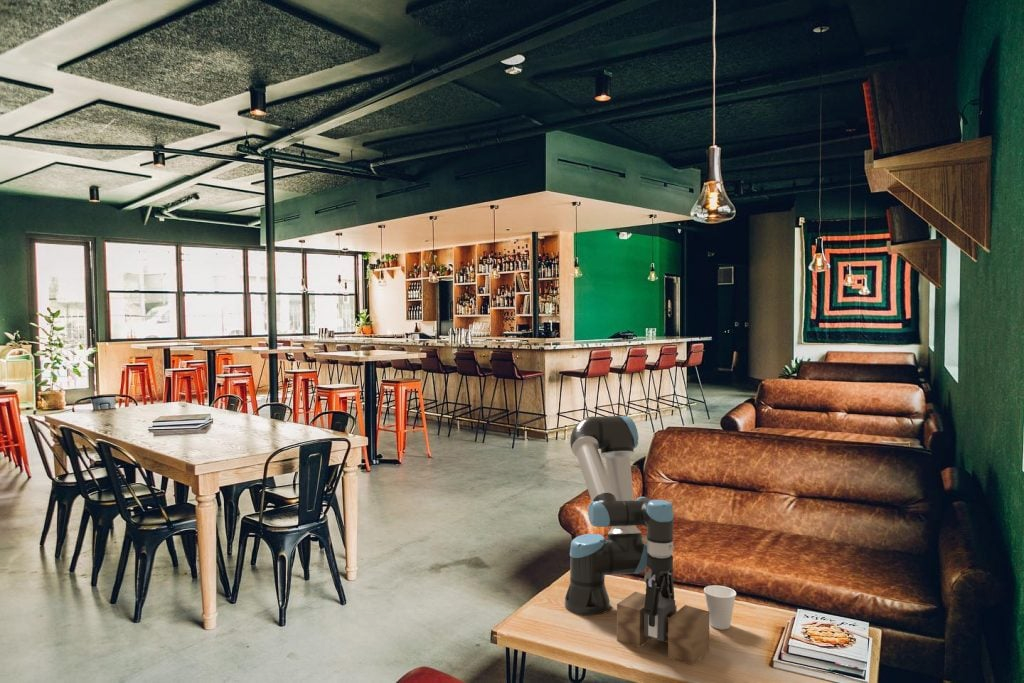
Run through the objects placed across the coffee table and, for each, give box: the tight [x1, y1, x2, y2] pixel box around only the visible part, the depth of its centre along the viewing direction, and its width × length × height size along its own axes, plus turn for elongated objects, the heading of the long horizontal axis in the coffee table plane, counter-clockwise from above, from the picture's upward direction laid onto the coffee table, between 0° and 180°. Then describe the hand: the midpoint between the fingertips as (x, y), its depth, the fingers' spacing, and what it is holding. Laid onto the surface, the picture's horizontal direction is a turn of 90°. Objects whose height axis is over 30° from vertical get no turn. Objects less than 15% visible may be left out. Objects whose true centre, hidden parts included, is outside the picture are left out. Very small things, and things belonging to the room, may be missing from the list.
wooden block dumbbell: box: [616, 591, 710, 666], centre depth 191 cm, size 24×12×11 cm, turn 52°
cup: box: [703, 584, 737, 630], centre depth 204 cm, size 10×10×11 cm
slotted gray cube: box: [644, 596, 676, 642], centre depth 190 cm, size 6×8×9 cm
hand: (659, 630), depth 190 cm, fingers closed on slotted gray cube, 8 cm apart
